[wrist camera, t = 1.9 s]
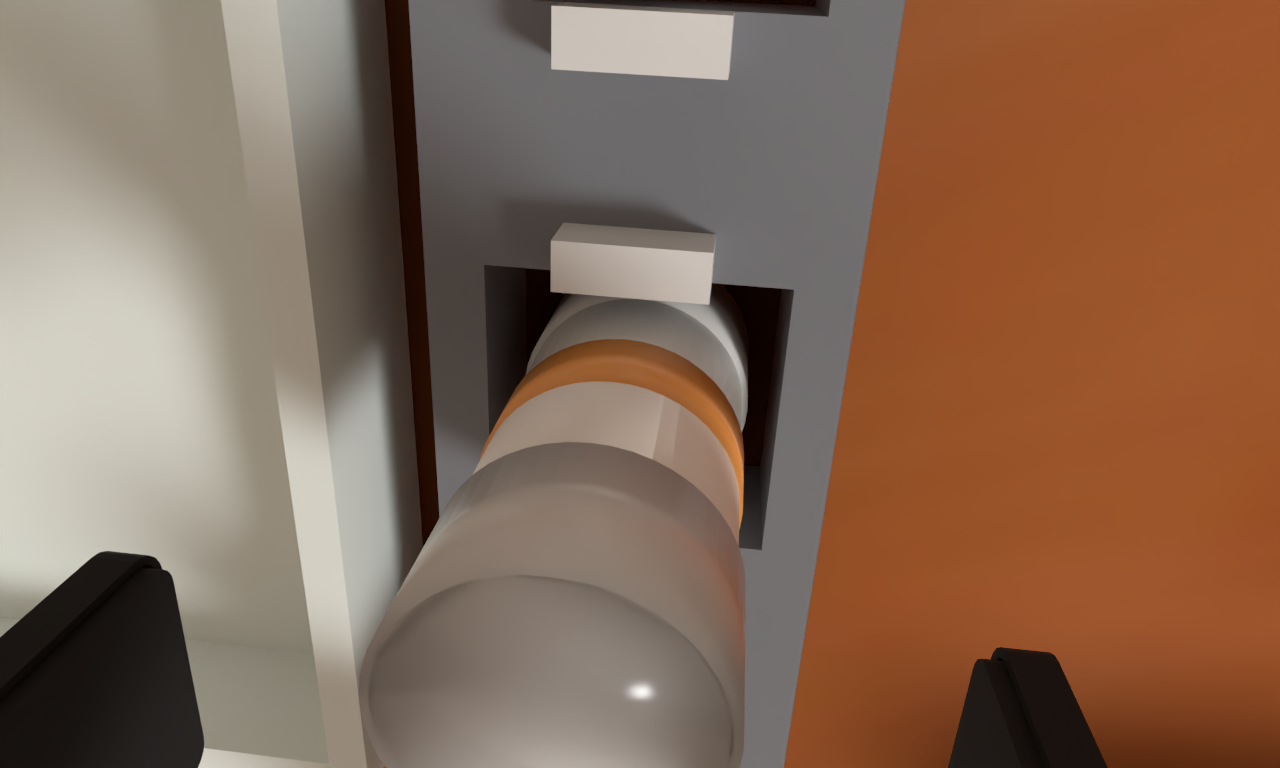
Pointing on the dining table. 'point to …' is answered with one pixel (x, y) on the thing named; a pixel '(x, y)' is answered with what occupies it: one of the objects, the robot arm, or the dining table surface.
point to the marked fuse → (585, 561)
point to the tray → (211, 342)
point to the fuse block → (659, 226)
